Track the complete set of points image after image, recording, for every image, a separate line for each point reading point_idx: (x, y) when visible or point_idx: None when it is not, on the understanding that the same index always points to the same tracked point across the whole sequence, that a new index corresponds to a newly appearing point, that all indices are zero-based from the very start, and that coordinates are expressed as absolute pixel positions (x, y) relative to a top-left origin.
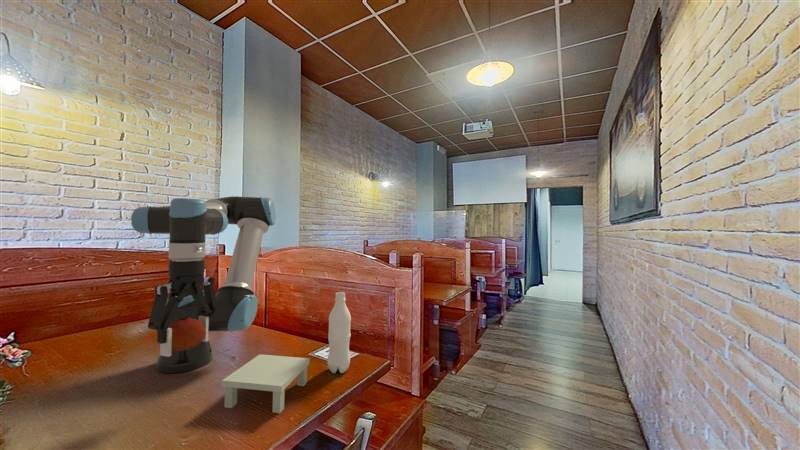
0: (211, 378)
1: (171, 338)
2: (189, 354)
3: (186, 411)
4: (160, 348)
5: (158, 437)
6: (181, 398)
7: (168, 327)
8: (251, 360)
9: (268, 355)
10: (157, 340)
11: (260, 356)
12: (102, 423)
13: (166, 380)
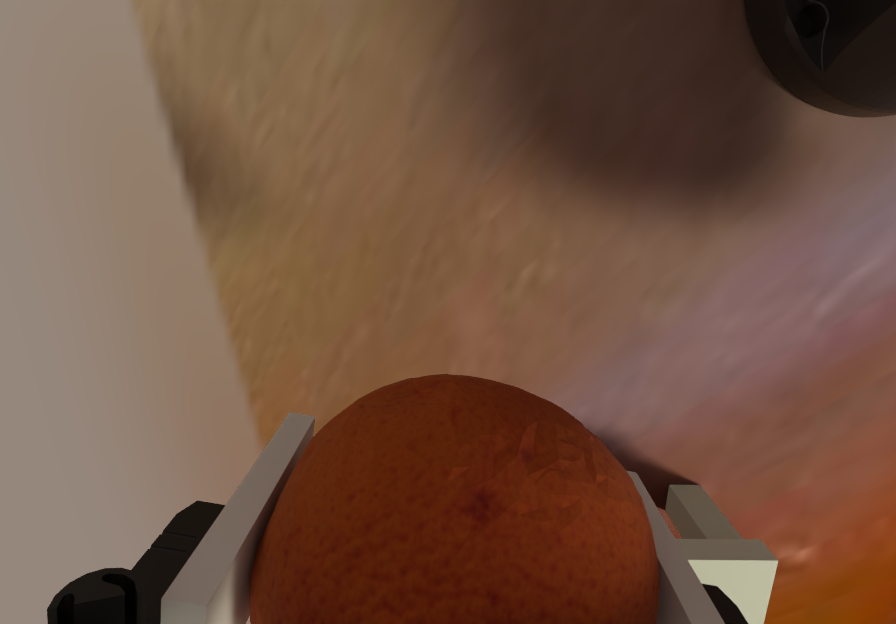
0: (693, 272)
1: (248, 610)
2: (869, 44)
3: (422, 368)
4: (270, 443)
5: (274, 393)
6: (504, 273)
7: (285, 590)
8: (693, 562)
9: (761, 607)
10: (170, 525)
11: (748, 577)
12: (284, 101)
13: (662, 40)
